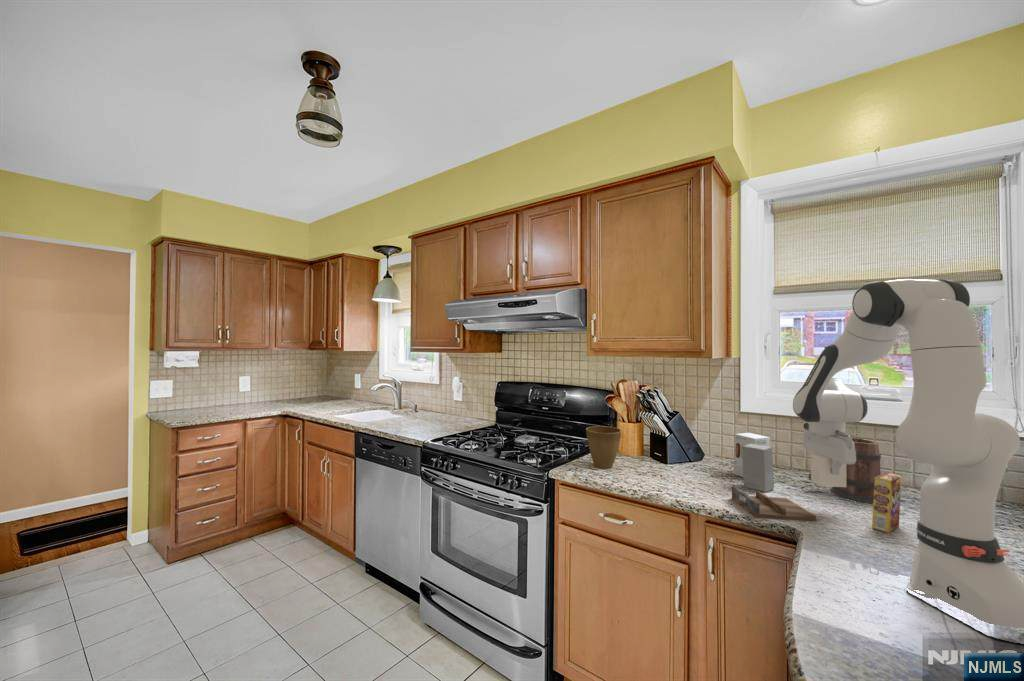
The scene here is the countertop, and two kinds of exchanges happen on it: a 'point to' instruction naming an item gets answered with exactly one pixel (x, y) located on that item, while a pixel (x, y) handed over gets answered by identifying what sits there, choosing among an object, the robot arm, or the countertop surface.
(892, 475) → the candy box
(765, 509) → the shelf board
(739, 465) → the supplement box
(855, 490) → the tankard
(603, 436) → the plant pot
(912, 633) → the countertop surface
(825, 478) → the cream carton
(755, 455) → the skincare box
